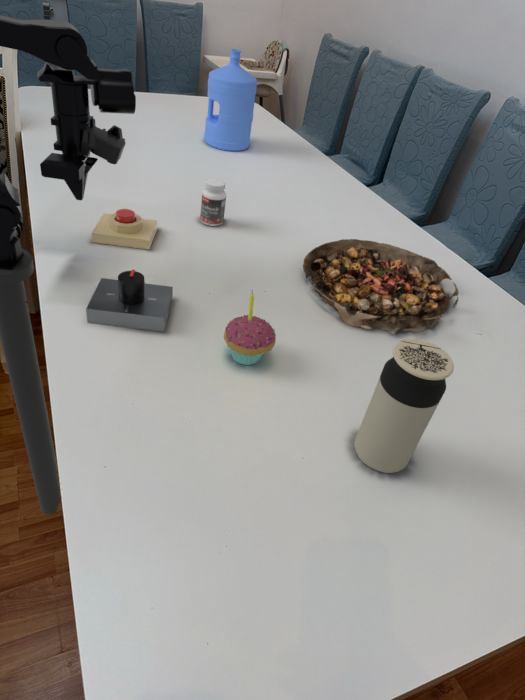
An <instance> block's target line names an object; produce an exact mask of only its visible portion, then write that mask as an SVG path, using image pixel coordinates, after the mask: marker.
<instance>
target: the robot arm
mask: <svg viewBox="0 0 525 700" xmlns="http://www.w3.org/2000/svg"><path fill="white" fill-rule="evenodd" d="M0 47H3V48H6V49H11V50H16V51H21V52H24V53H25V54H28V55H31V56H33V57H35V58H37V59H39V60H41V61H44V65H43V66H42V67H41V68H40V69H39V70H38V71H37V72H36V76H37V78H38V81H39V82H41V83H50V90H51V98H52V107H53V116H51V118H50V125H51V126H55V134H56V135H55V136H56V141H55V142H54V143H53V151H59V152H61V153H56V152H51V153H50V154H49V155H48V156H47V157H45V159H43V161H41V162H40V163H39V166H40V167H39V168H40V175H41V176H42V177H43V178H49V179H57V180H62V181H64V182H65V184H66V185H67V188H68V189H69V190H70V192H71V194H72V195H73V197H74V199H75V200H76V201H83V199H84V197H85V191H86V184H87V180H88V176H89V175H88V174H89V172H90V171H91V170H92V168H93V167H94V166H95V165H96V163H97V162H98V160H99V159H98V158H97V157H99V158H101V159H103V160H105V161H106V162H107V163H109V164H111V165H117V164H118V162H119V160H120V159H121V157H122V154H123V152H124V149H125V146H126V144H127V143H126V138H124V137H123V130H122V128H121V127H120V126H117V125H115V124H113V125H112V126H111V127H110V128H108V129H107V128H103V129H102V128H101V127H98V126H97V125H96V118H94V115H91V113H90V100H89V99H90V98H89V86H90V96H91V103H92V106H93V107H98V110H99V112H100V113H102V114H127V115H134V114H135V113H136V109H137V108H136V107H137V99H136V98H137V96H136V94H135V89H134V82H133V73H132V72H131V70H130V69H128V68H118V69H110V68H100V67H98V65H97V63H95V61H94V59H90V57H89V56H88V45H87V44H86V41H85V39H84V37H83V36H82V35H81V33H80V32H79V30H78V29H77V27H75V26H74V25H73V24H71V23H70V22H68V21H65V20H57V19H18V18H15V17H10V16H6V15H1V14H0ZM50 64H51V65H53V66H56V67H59V68H53V67H52V66H51V65H50ZM73 71H76V72H78V73H79V74H80V75H76V74H74V73H73ZM91 154H93V155H95V156H96V157H92V156H91ZM21 219H22V212H21V199H20V192H19V189H18V188H16V187H15V186H14V185H13V184H12V183H11V181H10V180H9V178H8V175H7V174H6V172H4V171H3V172H2V173H0V269H6V270H12V269H13V268H14V267H15V265H16V264H17V263H18V262H19V260H20V259H21V258H22V257H23V255H24V252H22V249H23V248H22V243H21V239H20V237H19V236H18V235H17V231H16V227H17V226H18V225H19V224H20V222H21ZM21 248H22V249H21Z"/></svg>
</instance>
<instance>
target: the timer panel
mask: <svg viewBox="0 0 525 700" xmlns="http://www.w3.org/2000/svg"><path fill="white" fill-rule="evenodd" d="M144 292H145V297H144V300H143V301H142V302H140V303H136V304H127V303H124V302H122V301H121V300H120V299H119V294H118V279H113V278H106V277H101V278H100V279H99V282H98V284H97V285H96V287H95V290H94V291H93V294H92V296H91V298H90V299H89V301H88V304H87V306H86V308H85V311H86V322H87V324H91V325H92V324H93V325H100V326H109V327H117V328H118V327H119V328H125V329H126V328H127V329H136V330H144V331H151V332H159V333H160V332H161V333H164V332H165V330H166V326H167V322H168V318H169V316H170V315H169V314H170V311H171V307H172V304H173V295H174V294H173V293H174V287H173V286H170V285H161V284H154V283H146V282H144Z"/></svg>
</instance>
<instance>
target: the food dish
mask: <svg viewBox="0 0 525 700" xmlns="http://www.w3.org/2000/svg"><path fill="white" fill-rule="evenodd" d="M302 269H303V272H304V274H305V279H306V280H307V279H308V278H309V277H310V278H311V280H310V279H309V283H310V284H311V286H313V289H314V292H315V293H316V294H318V297H321V298H322V299H321V300H322V302H324V303H325V304H329V306H331V307H333V309H334V311H336V312H337V313H338V315H339V316H340V318H341V320H342V321H343V322H344V323H345V324H346V325H349V326H352V327H356V328H357V327H360V328H362V329H366V330H371V329H377V330H381V331H386V332H389V333H390V334H393V335H396V334H397V333H398V332H412V333H421V332H422V331H424V330H428V329H430V330H431V329H433V328H434V326H436V325H437V323H438V321H440V318H441V317H443V315H442V314H445V313H446V312H447V310H448V309H449V308H450V304H451V300H452V298H453V297H456V300H455V301H454V302H453V304H452V308H453V309H454V308H456V307H457V305H458V303H459V288H458V286H457V285H456V283H455V281H452V280H453V279H452V277H451V275H450V274H449V273H448V272H447V271H446V269H444V268H443V267H441V266H439V265H438V263H437V262H436V261H435V260H434V259H431V258H429V257H426V256H423V255H421V254H418V253H415V252H413V251H411V250H408V249H405V248H402V247H399V246H396V245H392V244H389V243H384V242H382V243H381V242H377V241H373V240H365V239H364V240H363V239H356V238H349V239H347V238H346V239H339V240H334V241H330V242H325V243H322V244H320V245H318V246H316V247H314V248H313V249H311V250H310V251H308V253H307V254H306V255H305V257H304V259H303V264H302ZM445 279H446V280H447V279H448V280H450V281H452V284H453V287H454V292H453V293H452V294H451V296H450V294H449V293H446V290H444V287H442V286H441V285H440V284H441V282H442V281H444V280H445Z"/></svg>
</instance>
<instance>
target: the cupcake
mask: <svg viewBox="0 0 525 700" xmlns="http://www.w3.org/2000/svg"><path fill="white" fill-rule="evenodd" d="M250 293H251V294H250V295H249V303H248V314H244V315H242V316H237V317H234V318H232V320H229V322H228V323H227V325H226V326H225V329H224V332H223V340H224V341H225V343H226V345H227V347H228V348H229V349H230V352H231V357H232V359H233V360H234V362H236V363H238V364H240V365H243V366H252V365H255V364H257V363H258V362H259V361H260V359H261V358H262V356H263V355H264V354H265V353H267V352H270V351H272V350H273V349H274V347H275V346H276V342H277V341H276V337H277V334H276V329H275V328H273V326H272V325H271V324H270V322H268V321H266V319H263V318H261V317H258V316H256V315H253V313H254V312H253V311H254V302H255V294H254V290H253V289H251V292H250Z"/></svg>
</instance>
